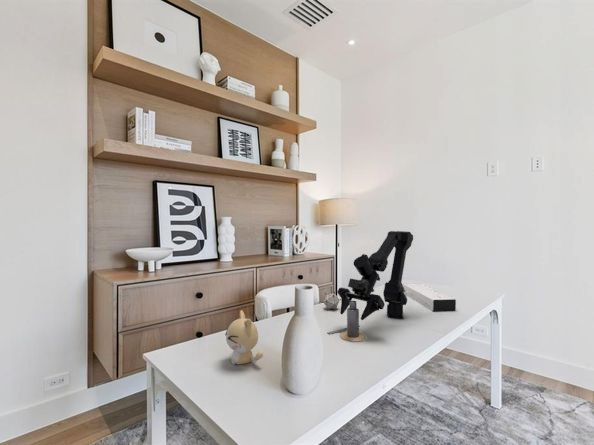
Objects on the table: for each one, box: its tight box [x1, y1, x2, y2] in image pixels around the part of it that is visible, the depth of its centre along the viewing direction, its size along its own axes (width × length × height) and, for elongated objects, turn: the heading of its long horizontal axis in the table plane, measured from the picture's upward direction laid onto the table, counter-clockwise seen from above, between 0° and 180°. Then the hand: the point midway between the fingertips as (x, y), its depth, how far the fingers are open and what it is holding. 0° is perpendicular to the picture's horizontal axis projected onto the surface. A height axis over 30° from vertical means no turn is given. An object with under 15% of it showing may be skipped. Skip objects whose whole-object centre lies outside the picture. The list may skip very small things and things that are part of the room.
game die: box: [321, 291, 341, 311], centre depth 155 cm, size 9×8×10 cm
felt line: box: [327, 325, 361, 336], centre depth 127 cm, size 16×2×1 cm, turn 123°
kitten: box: [225, 309, 264, 366], centre depth 100 cm, size 15×10×15 cm
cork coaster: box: [339, 330, 367, 343], centre depth 121 cm, size 10×10×1 cm
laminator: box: [402, 283, 457, 313], centre depth 168 cm, size 34×12×6 cm, turn 5°
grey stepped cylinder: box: [346, 300, 360, 338], centre depth 120 cm, size 4×4×13 cm
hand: (351, 316), depth 119 cm, fingers open, 9 cm apart
